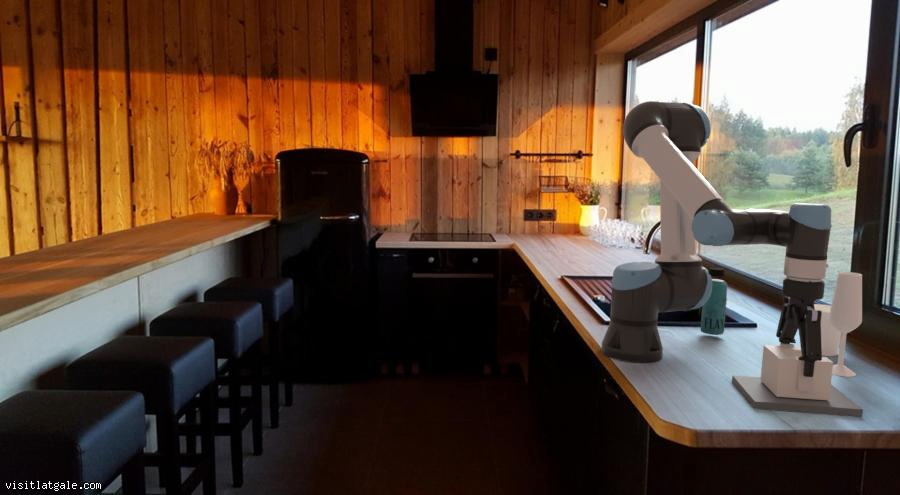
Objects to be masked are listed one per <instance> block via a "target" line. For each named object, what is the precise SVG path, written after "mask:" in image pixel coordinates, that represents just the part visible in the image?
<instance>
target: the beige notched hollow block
mask: <svg viewBox="0 0 900 495" xmlns="http://www.w3.org/2000/svg"><path fill="white" fill-rule="evenodd" d="M800 356H802V353H801V346H794V347H788V346H780V345H769V344H763V350H762V359H761V369H760V370H761V372H760V377H761V381H762V382H763V383H764V384H765V385H766V386H767V387H768V388H769V389H770V390H771V391H772V392H773V393H774V395H775V396H776V397H789V398H803V399H817V400H829V398H830V388H831V385H832V378H833V374H832V369H833V365H834V362H833V361H832V360H831V359H829V357H827V356H822V360H821V361H816V362H815V371H814V381H813V391H812V392H807V391H798V390H797V381H798V371H799V359H798V358H799V357H800Z"/></svg>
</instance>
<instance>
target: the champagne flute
mask: <svg viewBox="0 0 900 495" xmlns="http://www.w3.org/2000/svg"><path fill="white" fill-rule="evenodd" d="M833 290H834V291H833V296H832V301H831V305H830V306H831V309H830V314H829V320H830V322H831V323H832V325H833V326H834V327H835V328H836V329H837V330H838V331H840V332H841V336H840V342H839V347H838V357H837V363H836V364H833V369H832V376H839V377H847V378H850V377H856V376H857V374H856V373H855V372H854V371H853V370H851V369H850V368H849V367H847V366H845V365H844V360H845V352H846V342H847V335H848V333H851V332H852V331H854V330H856V329H857V328H858V327H860V325H861V324H862V322H863V274H861V273H859V272H853V271H852V272H851V271H850V272H849V271H839V272H838V273H837V278H836V281H835V286H834V289H833Z"/></svg>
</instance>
